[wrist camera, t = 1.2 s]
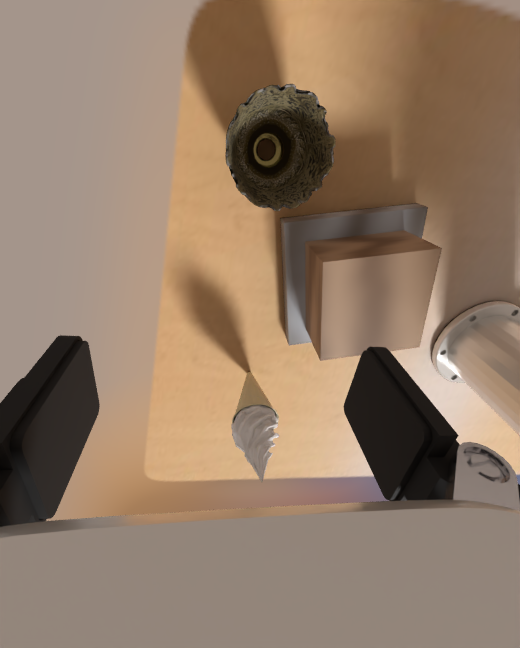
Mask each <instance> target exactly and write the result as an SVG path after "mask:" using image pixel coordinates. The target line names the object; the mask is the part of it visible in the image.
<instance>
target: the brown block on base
mask: <svg viewBox="0 0 520 648" xmlns="http://www.w3.org/2000/svg"><path fill="white" fill-rule="evenodd" d="M427 209H428V207H426V206H423V205H420V204H417V203H415V204H406V205H397V206H388V207H379V208H369V209H360V210H351V211H342V212H333V213H324V214H315V215H306V216H296V217H287V218H280V220H281V242H282V264H283V287H284V309H285V331H286V338H287V341H288V344H289V345H295V344H303V343H310V342H312V343H313V346H314V348H315V350H316V352H317V354H318V356H319V359H320V361H322V360H329V359H336V358H344V357H351V356H358V355H362V353H363V351H365V350H367V348H368V347H386V348H387V349H388V350H389V351H395V350H402V349H409V348H417V347H419V346H420V342H421V337H422V333H423V329H424V324H425V320H426V315H427V311H428V307H429V302H430V298H431V293H432V289H433V285H434V280H435V276H436V271H437V267H438V263H439V258H440V254H441V249H442V248H440V247H438V246H436V245H434V244H432V243H430V242H428V241H426V240H424V239H422V235H423V230H424V225H425V219H426V214H427Z"/></svg>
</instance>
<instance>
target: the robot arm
mask: <svg viewBox="0 0 520 648" xmlns="http://www.w3.org/2000/svg"><path fill="white" fill-rule="evenodd" d="M432 360H433V365H434V367H435V369H436V370H437V371H438V373H439V374H440V375H441V376H442V377H444V378H445V379H446V380H449V381H451V382H456V383H466V384H467V385H468V386H469V387H470V388H471V389H472V390H473V391H474V392H475V393H476V394H477V395H478V396H479V397H480V398H481V399H482V400H483V401H484V402H486V403H487V404H488V405H489V406H490V407H491V408H492V409H493V410H494V411H495V412H496V413H497V414H498V415H499V416H500V417H501V418H502V419H503V420H504V421H505V422H506V423H507V424H508V425H509V426H510V427H511V428H512V429H513V430H514V431H515V432H516V433H517V434H518V435H519V436H520V307H518V306H516V305H514V304H512V303H508V302H504V301H494V302H487V303H484V304H480V305H477V306H475V307H473V308H471V309H468V310H467V311H465V312H464V313H462V314H460V315H459V316H458V317H456V318H455V319H454V320H453V321H451V322H450V323H449V324H448V325H447V326H446V328H445V329H444V330H443V331H442V333H441V334H440V335H439V337H438V339H437V341H436V343H435V345H434V349H433V354H432ZM98 412H99V399H98V393H97V388H96V383H95V377H94V372H93V366H92V361H91V355H90V350H89V345H88V342H87V341H82V338H81V337H80V336H58V337H57V338H56V339H55V341H54V342H53V343H52V344H51V345H50V347H49V348H48V349H47V350H46V352H45V353H44V354H43V355H42V357H41V358H40V359H39V360H38V361H37V363H36V364H35V365H34V366H33V368H32V369H31V370H30V372H29V373H28V374H27V375H26V377H25V378H22V379H21V380H20V381H19V382H18V383H17V384H16V385H15V386H14V387H13V388H12V390H11V391H10V392H9V393H8V395H7V396H6V397H5V399H4V400H3V401H2V402H1V403H0V648H520V485H519V484H518V483H517V477H516V474H515V472H514V470H513V469H512V467H511V466H510V464H509V463H508V462H507V461H506V460H505V459H504V458H503V457H501V456H500V455H499V454H497V453H496V452H495V451H493V450H491V449H489V448H488V447H486V446H483V445H480V444H478V443H472V442H466V443H462V444H461V445H459V443H458V442H457V441H456V438H457V437H458V434H457V433H456V432H455V431H454V429H453V428H452V427H451V426H450V425H449V423H448V422H447V421H446V420H445V418H444V417H443V416H442V415H441V414H440V412H439V411H438V410H437V409H436V407H435V406H434V405H433V404H432V402H431V401H430V400H429V399H428V398H427V396H426V395H425V394H424V393H423V391H422V390H421V389H420V388H419V387H418V385H417V384H416V383H415V382H414V380H413V379H412V378H411V377H410V376H409V374H408V373H407V372H406V371H405V369H404V368H403V367H402V366H401V365H400V363H399V362H398V361H397V360H396V358H395V357H394V356H393V355H392V354H391V352H390V351H389V350H388V349H387V348H386V347H368V348H367V350H365V351H363V353H362V355H361V358H360V361H359V363H358V366H357V369H356V372H355V375H354V378H353V380H352V383H351V386H350V389H349V392H348V395H347V398H346V400H345V403H344V412H345V415H346V417H347V419H348V421H349V423H350V425H351V428H352V430H353V432H354V434H355V436H356V438H357V440H358V443H359V445H360V447H361V449H362V451H363V453H364V455H365V457H366V460H367V462H368V464H369V466H370V468H371V470H372V472H373V475H374V477H375V479H376V481H377V483H378V485H379V487H380V489H381V492H382V494H383V496H384V497H385V498H386V499H387V500H390V501H382V502H361V503H340V504H320V505H301V506H285V507H284V506H283V507H263V508H246V509H227V510H209V511H192V512H177V513H159V514H142V515H125V516H109V517H96V518H83V519H70V520H58V521H46V519H48V518H52V517H53V516H54V515H55V513H56V511H57V508H58V506H59V504H60V501H61V499H62V497H63V494H64V492H65V490H66V487H67V485H68V483H69V480H70V478H71V476H72V473H73V471H74V469H75V466H76V464H77V462H78V459H79V457H80V455H81V453H82V450H83V448H84V445H85V443H86V441H87V438H88V436H89V434H90V432H91V429H92V427H93V425H94V422H95V420H96V418H97V415H98Z"/></svg>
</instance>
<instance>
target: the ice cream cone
mask: <svg viewBox="0 0 520 648" xmlns="http://www.w3.org/2000/svg"><path fill="white" fill-rule="evenodd" d="M278 421H279V417H278V414H277V412H276V411H275V409H273V407H272V406H271V404H270V402H269V401H268V399H267V397H266V396H265V394H264V393H263V391H262V389H261V388H260V386H259V385H258V383H257V381H256V380H255V378H254V377H253V375H252V373H251V372H248V373H247V376H246V379H245V383H244V386H243V389H242V393H241V396H240V400H239V403H238V406H237V410H236V413H235V415H234V417H233V420H232V436H233V439H234V441H235V444H236V447H238V448H239V449H241V450H242V451H243V452H245V457H246V458H247V461H248V462H249V463H250V464H251V465H252V467H253V468H254V470H255V471H256V473H257V475H258V476H259V478H260V480H261V482H262V481H263V478H264V474H265V470H266V466H267V462H268V460H269V458H270V457H271V455H272V453H269V449H270V448H271V447H273V446H275V444H274V443H273V442H272V440H273V438H278V437H279V434H277V433H274V432H273V429H274V428H277V426H278Z"/></svg>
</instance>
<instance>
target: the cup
mask: <svg viewBox="0 0 520 648" xmlns="http://www.w3.org/2000/svg"><path fill="white" fill-rule="evenodd" d="M326 113H327V111H326V109H325V108H324V107H323V106H320V105H319V101H318V98H317V96H316V95H315V94H314V93H312V92H310V91H302V90H298V89H296V86H295V85H294V84H286V85H285V86H283V87H281V88H280V86H279V85H269V86H267V87H266V88H263V89H259V90H257V91H255V92H254V93H253V94H252V95H251V96H250V97H249V98H248V100H247V101H246V102H245V103H244V104H243V103H242V104H240V106H239V107H238V109H237V112H236V115H235V117H234V118H233V120H232V121H231V123H230V125H229V128H228V130H227V135H226V163H227V165H228V166H229V169H230V171H231V175H232V177H233V179H234V181H235V182H236V187H237V189H238V190H239V191H240V192H241V193H242V194H243V195H245V196H246V197H247V198H248V200H249V201H250V202H252V203H253V204H254V205H256V206H258V207H262V208H266V207H270V208H272V209H273V210H275V211H280V210H281V208H282V206H283V207H286V208H289V209H290V208H296V207H298V206H299V205H300V203H301V204H302V203H303V202H307V201H308V199H309V197H310V196H311V195H312V191H317V190H318V189H320V188H321V187H322V180H323V178H324V177H325V176H326V175H328V173H329V172H330V170H331V168H332V167H333V163H334V158H333V154H334V153H333V148H334V147H335V137H334V136H333V135H330V134H329V131H328V123H327V122H326V120H325V114H326ZM264 139H269V140H271V141H272V142H273V143H274V145H275V154H274V156H273V157H272V158H271V159H269V160H263V159H261V158H260V157H259V156H258V153H257V147H258V144H259V143H260V142H261V141H262V140H264Z"/></svg>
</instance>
